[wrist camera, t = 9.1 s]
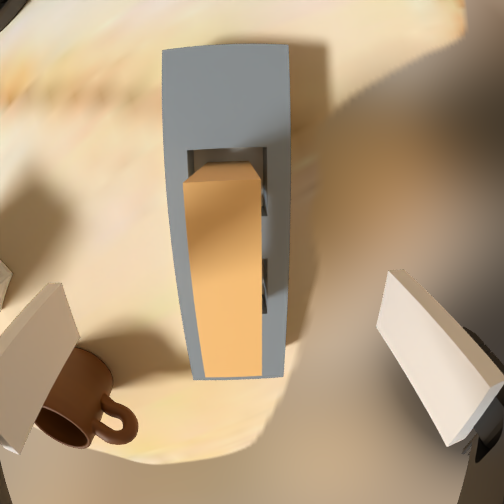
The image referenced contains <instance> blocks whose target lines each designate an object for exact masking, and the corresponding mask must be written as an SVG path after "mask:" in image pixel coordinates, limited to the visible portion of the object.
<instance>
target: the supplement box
mask: <svg viewBox="0 0 504 504" xmlns="http://www.w3.org/2000/svg"><path fill="white" fill-rule="evenodd" d="M11 277H12V272H11V271H10V270H9V269H8V267H7V266H6V265H5V264H4V263H3V262H2V261H1V260H0V312H1V309H2V304H3V301H4V297H5V294H6V291H7V288H8V285H9V282H10V279H11Z"/></svg>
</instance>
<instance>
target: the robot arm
mask: <svg viewBox="0 0 504 504" xmlns="http://www.w3.org/2000/svg"><path fill="white" fill-rule="evenodd" d="M26 1H27V0H0V31H1V30H2V29H3V28H4V27H5V26H6V25H7V24H8V23H9V22H10V21H11V20H12V18H13V17H14V16H15V15H16V14H17V13H18V11H19V10H20V9H21V8H22V6H23V5H24V4H25V3H26ZM376 328H377V329H378V331H379V332H380V334H381V335H382V337H383V339H384V340H385V342H386V343H387V345H388V346H389V348H390V350H391V351H392V352H393V354H394V356H395V358H396V359H397V361H398V362H399V364H400V366H401V367H402V369H403V371H404V372H405V374H406V375H407V377H408V379H409V380H410V382H411V384H412V385H413V387H414V389H415V391H416V392H417V394H418V395H419V397H420V399H421V401H422V403H423V404H424V406H425V408H426V410H427V411H428V413H429V415H430V417H431V418H432V420H433V422H434V424H435V425H436V427H437V429H438V431H439V433H440V434H441V436H442V438H443V440H444V442H445V444H446V446H447V447H448V446H450V445H452V444H455V443H457V442H459V441H461V440H463V439H464V438H465V437H466V436H467V435H468V434H469V432H470V431H471V430H472V429H473V427H474V429H475V430H476V432H477V434H476V435H475V436H474V437H473V439H472V440H471V441H470V442H469V443H468V444H467V445H466V446H465V448H464V449H463V452H462V454H465V453H466V451H467V450H468V449H469V448H470V447H471V451H470V452H469V454H468V455H470V457H469V461H468V466H467V471H466V475H465V479H464V482H463V486H462V490H461V493H460V496H459V500H458V503H457V504H504V365H503V364H502V363H501V362H500V360H499V359H498V358H497V357H496V356H495V355H494V353H493V352H490V349H489V348H488V347H487V346H486V345H484V343H483V341H482V340H481V339H480V338H479V337H478V336H477V335H476V334H475V333H473V332H472V331H470V330H469V329H467V328H465V327H461V326H460V325H459V324H458V323H457V321H456V320H455V319H454V318H453V317H452V316H451V315H450V314H449V313H448V312H447V311H446V310H445V309H444V308H443V307H442V306H441V305H440V304H439V303H438V302H437V301H436V300H435V299H434V298H433V297H432V296H431V295H430V294H429V293H428V292H427V291H426V290H425V289H424V288H423V287H422V286H421V285H420V284H419V283H418V282H417V281H415V279H413V278H412V277H411V276H410V275H409V274H408V273H407V272H406V271H405V270H404V269H402V270H390V271H388V275H387V280H386V285H385V290H384V294H383V300H382V304H381V308H380V313H379V317H378V321H377V325H376ZM79 338H80V335H79V332H78V330H77V327H76V324H75V321H74V319H73V316H72V313H71V310H70V307H69V304H68V301H67V298H66V295H65V292H64V289H63V285H62V283H48V284H47V285H46V286H45V287H44V288H43V289H42V290H41V291H40V292H39V293H38V294H37V295H36V296H35V297H34V298H33V299H32V300H31V302H30V303H29V304H28V305H27V306H26V307H25V308H24V309H23V310H22V311H21V312H20V314H19V315H18V316H17V317H16V318H15V319H14V320H13V322H12V323H11V324H10V325H9V326H8V327H7V329H6V330H5V331H4V332H3V333H2V334H1V336H0V444H1V445H2V446H3V447H4V448H5V449H8V450H9V451H12V452H14V453H16V454H18V455H20V454H21V451H22V449H23V447H24V444H25V442H26V440H27V438H28V435H29V433H30V431H31V429H32V427H33V424H34V422H35V420H36V418H37V416H38V414H39V412H40V410H41V408H42V406H43V404H44V402H45V400H46V398H47V396H48V394H49V392H50V390H51V388H52V386H53V384H54V383H55V381H56V379H57V377H58V375H59V373H60V371H61V370H62V368H63V366H64V364H65V362H66V361H67V359H68V357H69V355H70V354H71V352H72V350H73V349H74V347H75V345H76V343H77V342H78V340H79ZM0 504H12V501H11V498H10V495H9V492H8V488H7V485H6V482H5V478H4V475H3V471H2V466H1V462H0Z"/></svg>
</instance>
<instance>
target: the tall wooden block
mask: <svg viewBox="0 0 504 504" xmlns="http://www.w3.org/2000/svg"><path fill="white" fill-rule="evenodd" d="M183 194H184V207H185V220H186V231H187V242H188V252H189V262H190V271H191V280H192V288H193V296H194V304H195V312H196V319H197V327H198V334H199V340H200V347H201V353H202V360H203V366H204V372H205V377H247V376H262V232H261V179H260V177H259V176H258V174H257V173H256V171H255V169H254V168H253V166H252V165H251V163H250V162H249V161H224V162H207V163H206V164H205V165H204V166H202V167H201V168H200V169H199V170H198V171H196V172H195V173H194V174H193V175H192V176H190V177H189V178H188V179H187V180H186V181H184V182H183Z"/></svg>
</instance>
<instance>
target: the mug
mask: <svg viewBox="0 0 504 504" xmlns="http://www.w3.org/2000/svg"><path fill="white" fill-rule="evenodd" d="M112 387H113V378H112V375H111V373H110V371H109V369H108V368H107V366H106V365H105V364H104V363H103V362H102V361H101V360H100V359H99V358H98V357H96V356H95V355H93V354H91V353H90V352H88V351H85V350H83V349H79V348H74V349H73V350H72V352H71V354H70V355H69V357H68V359H67V361H66V362H65V364H64V366H63V368H62V370H61V371H60V373H59V375H58V377H57V379H56V381H55V383H54V384H53V386H52V388H51V390H50V392H49V394H48V396H47V398H46V400H45V402H44V404H43V406H42V408H41V410H40V412H39V414H38V416H37V418H36V420H35V422H34V423H35V424H36V425H37V426H38V427H39V428H40V429H41V430H42V431H43V432H44V433H46V434H47V435H48V436H50V437H51V438H53V439H55V440H56V441H58V442H60V443H62V444H65V445H67V446H70V447H73V448H79V449H82V448H87V447H89V446H90V444H91V442H92V440H93V438H94V436H95V435H97V436H98V437H100V438H101V439H102V440H104V441H105V442H107V443H110V444H116V445H121V444H127V443H129V442H131V441H132V440H133V439H134V438H135V437H136V435H137V432H138V421H137V418H136V416H135V415H134V413H133V412H132V411H131V410H130V409H129V408H127V407H126V406H124V405H121V404H119V403H116V402H114V401H113V400H112V399H111V398H110V397H109V396H110V393H111V390H112ZM103 412H105V413H106V414H107V415H109V416H112V417H115V418H118V419H120V420H121V421H122V422H123V429H122V430H119V431H115V430H113V429H111V428H109V427H108V426H106V425H105V424H103V423H102V422H100V420H101V418H102V415H103Z"/></svg>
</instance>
